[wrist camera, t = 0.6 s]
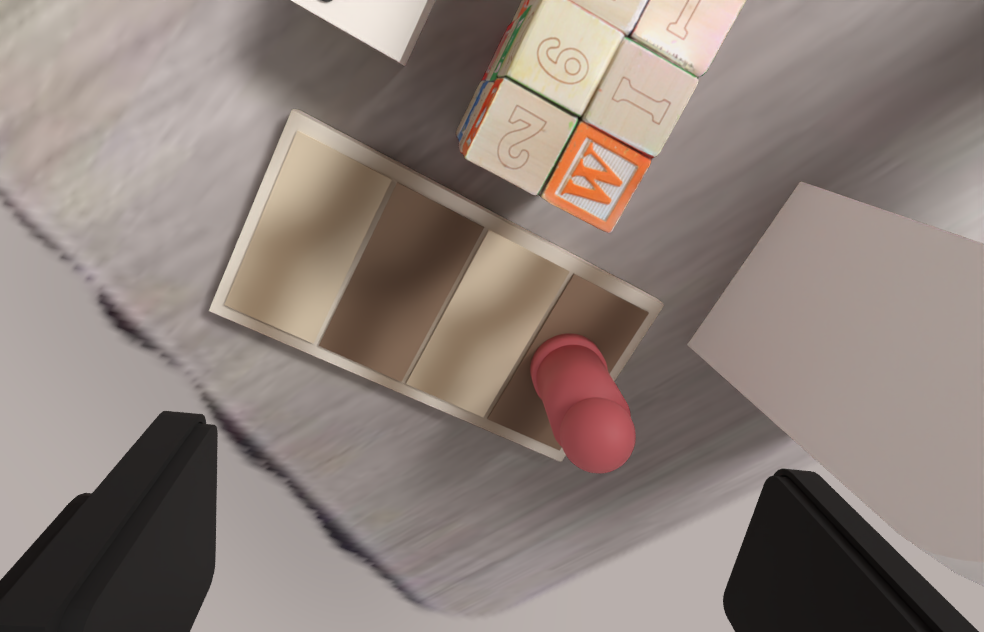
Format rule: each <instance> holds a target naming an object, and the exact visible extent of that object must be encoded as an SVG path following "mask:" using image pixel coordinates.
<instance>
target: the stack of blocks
mask: <svg viewBox="0 0 984 632" xmlns="http://www.w3.org/2000/svg"><path fill="white" fill-rule="evenodd" d="M745 2H746V0H522V1H521V4H520V6H519V8H518V10H517V12H516V14H515V16H514V18H513V20H512V23H511V24H510V25H509V26H508V27H507V30H506V32H505V34H504V36H503V37H502V39H501V42H500V44H499V46H498V48H497V50H496V52H495V54H494V56H493V58H492V60H491V62H490V64H489V66H488V68H487V70H486V72H485V74H484V77H483V78H482V80H481V82H480V83H479V85H478V87H477V89H476V91H475V93H474V95H473V97H472V100H471V102H470V104H469V106H468V108H467V110H466V112H465V114H464V116H463V118H462V120H461V122H460V124H459V126H458V128H457V130H456V135H457V138H458V140H459V150H460V152H461V153H462V154H463V156H464V158H465V159H466V160H468V161H470V162H472V163H474V164H476V165H478V166H480V167H482V168H484V169H486V170H488V171H489V172H491V173H493V174H495V175H497V176H499V177H501V178H502V179H504V180H506V181H508V182H510V183H512V184H514V185H516V186H517V187H519V188H521V189H523V190H525V191H527V192H529V193H530V194H532V195H537V194H538V195H539V196H540V197H541V198H542V199H544V200H545V201H547V202H549V203H551V204H552V205H554V206H556V207H558V208H560V209H562V210H564V211H566V212H568V213H570V214H571V215H573V216H575V217H577V218H579V219H581V220H583V221H585V222H587V223H589V224H591V225H593V226H595V227H597V228H599V229H600V230H602V231H605V232H607V233H611V232H612V230H613V229H614V227H615V225H616V224H617V222H618V220H619V218H620V217H621V215H622V213H623V211H624V210H625V208H626V206H627V204H628V202H629V201H630V199H631V197H632V195H633V194H634V192H635V190H636V189H637V187H638V185H639V183H640V182H641V180H642V178H643V176H644V175H645V173H646V171H647V170H648V168H649V166H650V164H651V160H652V158H654V157H656V156H657V155H658V154H659V153H660V152H661V150H662V148H663V146H664V144H665V142H666V141H667V139H668V137H669V136H670V134H671V132H672V130H673V128H674V126H675V124H676V123H677V121H678V119H679V117H680V116H681V114H682V112H683V110H684V108H685V107H686V105H687V103H688V101H689V99H690V97H691V96H692V94H693V92H694V90H695V88H696V86H697V84H698V81H699V79H698V78H699V77H700V76H703V75H704V74H705V73H706V72H707V71H708V69H709V67H710V65H711V63H712V61H713V60H714V58H715V56H716V54H717V52H718V51H719V49H720V47H721V45H722V43H723V41H724V40H725V38H726V36H727V34H728V33H729V31H730V29H731V27H732V25H733V23H734V22H735V20H736V18H737V16H738V14H739V13H740V11H741V9H742V7H743V6H744V4H745Z"/></svg>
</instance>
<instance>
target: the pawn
mask: <svg viewBox="0 0 984 632" xmlns="http://www.w3.org/2000/svg"><path fill="white" fill-rule="evenodd" d="M530 374H531V378H532V381H533V385H534V388H535V390H536V392H537V394H538V396H539V397H540V398H541V399H542V401H543V404H544V407H545V410H546V413H547V416H548V419H549V422H550V425H551V428H552V431H553V434H554V437H555V439H556V441H557V442H558V443H559V445H560V446H561V447H562V448H563V451H564V453H565V454H566V456H567V457H568V458H569V460H570V461H571V462H572V463H573V464H574V465H576V466H577V467H578V468H580V469H582V470H584V471H587V472H591V473H607V472H611V471H613V470H615V469H617V468H619V467H620V466H622V465H623V464H624V463H625V462H626V461H627V460H628V458H629V457H630V455H631V454H632V451H633V449H634V445H635V438H636V435H635V428H634V424H633V422H632V419H631V415H630V410H629V406H628V404H627V402H626V401H625V399H624V397H623V396H622V394H621V392H620V391H619V389H618V387H617V386H616V384H615V382H614V381H613V379H612V377H611V376H610V374H609V372H608V369H607V364H606V361H605V359H604V357H603V355H602V354H601V352H600V351H599V349H598V348H597V346H596V345H595V344H594V343H593V342H592V341H591V340H590V339H588V338H586V337H584V336H582V335H578V334H561V335H557V336H554V337H552V338H550V339H548V340H547V341H545V342H544V343H543V344H542V345H540V347H539V348H538V349H537V350H536V352H535V353H534V355H533V358H532V360H531V365H530Z"/></svg>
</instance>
